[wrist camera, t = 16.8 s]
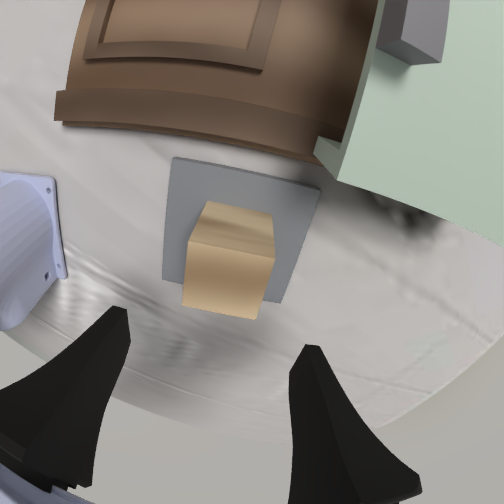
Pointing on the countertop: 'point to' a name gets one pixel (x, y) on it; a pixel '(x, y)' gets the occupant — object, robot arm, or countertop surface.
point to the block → (229, 260)
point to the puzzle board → (220, 69)
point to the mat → (240, 195)
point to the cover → (430, 113)
